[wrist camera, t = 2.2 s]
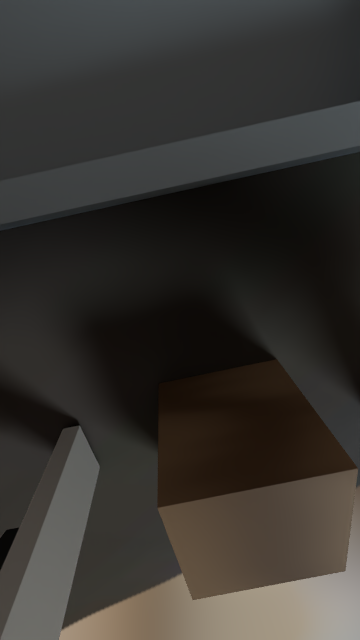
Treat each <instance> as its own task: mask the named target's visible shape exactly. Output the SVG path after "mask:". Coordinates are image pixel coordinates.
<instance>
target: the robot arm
mask: <svg viewBox="0 0 360 640" xmlns="http://www.w3.org/2000/svg"><path fill="white" fill-rule="evenodd" d="M99 468H100V466H99V464H98V462H97V460H96V458H95V456H94V454H93V452H92V450H91V448H90V446H89V443H88V441H87V439H86V437H85V435H84V433H83V431H82V429H81V427H80V426H74V427H69V428H64V429H63V430H62V432H61V434H60V437H59V439H58V441H57V443H56V446H55V448H54V450H53V453H52V455H51V457H50V459H49V462H48V464H47V466H46V468H45V471H44V473H43V475H42V477H41V480H40V482H39V484H38V487H37V489H36V491H35V493H34V496H33V498H32V500H31V502H30V505H29V507H28V509H27V512H26V514H25V516H24V518H23V521H22V523H21V525H20V527H19V528H15V529H9V530H6V532H5V533H4V534H3V535H2V537H1V538H0V640H59V636H60V632H61V628H62V624H63V620H64V615H65V611H66V607H67V603H68V599H69V594H70V590H71V586H72V582H73V577H74V573H75V569H76V565H77V561H78V556H79V552H80V548H81V544H82V540H83V535H84V531H85V527H86V523H87V519H88V514H89V510H90V506H91V502H92V498H93V493H94V489H95V485H96V481H97V477H98V472H99Z"/></svg>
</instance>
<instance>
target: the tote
mask: <svg viewBox="0 0 360 640" xmlns="http://www.w3.org/2000/svg"><path fill="white" fill-rule="evenodd" d="M357 152H360V0H0V231H1V230H5V229H10V228H15V227H19V226H24V225H28V224H33V223H37V222H42V221H47V220H51V219H56V218H60V217H65V216H69V215H74V214H79V213H83V212H88V211H92V210H97V209H101V208H106V207H110V206H115V205H120V204H124V203H129V202H133V201H138V200H142V199H147V198H152V197H156V196H161V195H165V194H170V193H174V192H179V191H184V190H188V189H193V188H197V187H202V186H206V185H211V184H215V183H220V182H225V181H229V180H234V179H238V178H243V177H247V176H252V175H257V174H261V173H266V172H270V171H275V170H279V169H284V168H289V167H293V166H298V165H302V164H307V163H311V162H316V161H321V160H325V159H330V158H334V157H339V156H343V155H348V154H352V153H357Z"/></svg>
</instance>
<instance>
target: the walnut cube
mask: <svg viewBox="0 0 360 640" xmlns="http://www.w3.org/2000/svg"><path fill="white" fill-rule="evenodd" d="M357 473H358V468H357V466H356V465H355V464H354V462H353V461H352V460H351V458H350V457H349V456H348V454H347V453H346V452H345V450H344V449H343V448H342V446H341V445H340V444H339V442H338V441H337V440H336V438H335V437H334V435H333V434H332V433H331V431H330V430H329V429H328V427H327V426H326V425H325V423H324V422H323V421H322V419H321V418H320V417H319V415H318V414H317V413H316V411H315V410H314V409H313V407H312V406H311V405H310V403H309V402H308V401H307V399H306V398H305V396H304V395H303V394H302V392H301V391H300V390H299V388H298V387H297V386H296V384H295V383H294V382H293V380H292V379H291V378H290V376H289V375H288V374H287V372H286V371H285V370H284V368H283V367H282V366H281V364H280V363H279V362H278V360H277V359H276V360H271V361H266V362H261V363H256V364H251V365H247V366H242V367H237V368H232V369H227V370H222V371H217V372H212V373H208V374H203V375H198V376H193V377H188V378H183V379H178V380H173V381H169V382H164V383H159V404H158V510H159V513H160V516H161V518H162V521H163V523H164V526H165V529H166V531H167V534H168V536H169V539H170V542H171V544H172V547H173V549H174V552H175V555H176V557H177V560H178V562H179V565H180V568H181V570H182V573H183V575H184V578H185V581H186V583H187V586H188V588H189V591H190V594H191V596H192V599H193V600H196V599H201V598H206V597H211V596H216V595H222V594H227V593H232V592H238V591H243V590H248V589H253V588H259V587H264V586H269V585H275V584H279V583H285V582H290V581H296V580H300V579H306V578H311V577H317V576H322V575H327V574H332V573H338V572H343V571H345V569H346V561H347V553H348V545H349V537H350V529H351V521H352V513H353V504H354V497H355V496H354V495H355V489H356V481H357Z"/></svg>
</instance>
